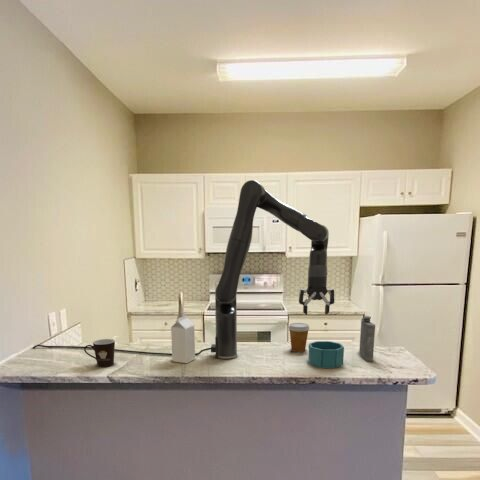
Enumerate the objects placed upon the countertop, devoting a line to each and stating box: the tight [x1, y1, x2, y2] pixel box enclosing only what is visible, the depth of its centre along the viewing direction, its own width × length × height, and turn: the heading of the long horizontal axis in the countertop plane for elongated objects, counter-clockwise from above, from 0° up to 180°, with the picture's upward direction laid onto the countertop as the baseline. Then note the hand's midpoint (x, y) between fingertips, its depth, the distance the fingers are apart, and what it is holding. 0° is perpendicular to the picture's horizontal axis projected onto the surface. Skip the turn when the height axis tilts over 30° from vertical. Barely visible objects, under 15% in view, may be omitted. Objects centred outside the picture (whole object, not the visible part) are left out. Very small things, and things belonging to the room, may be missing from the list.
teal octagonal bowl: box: [307, 340, 345, 369], centre depth 169 cm, size 14×14×8 cm
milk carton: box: [170, 315, 196, 364], centre depth 172 cm, size 7×7×19 cm
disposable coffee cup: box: [288, 322, 310, 353], centre depth 187 cm, size 10×10×12 cm
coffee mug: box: [83, 338, 116, 368], centre depth 167 cm, size 12×9×10 cm
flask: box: [358, 315, 376, 363], centre depth 176 cm, size 4×14×18 cm, turn 177°
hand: (316, 314), depth 167 cm, fingers open, 8 cm apart
